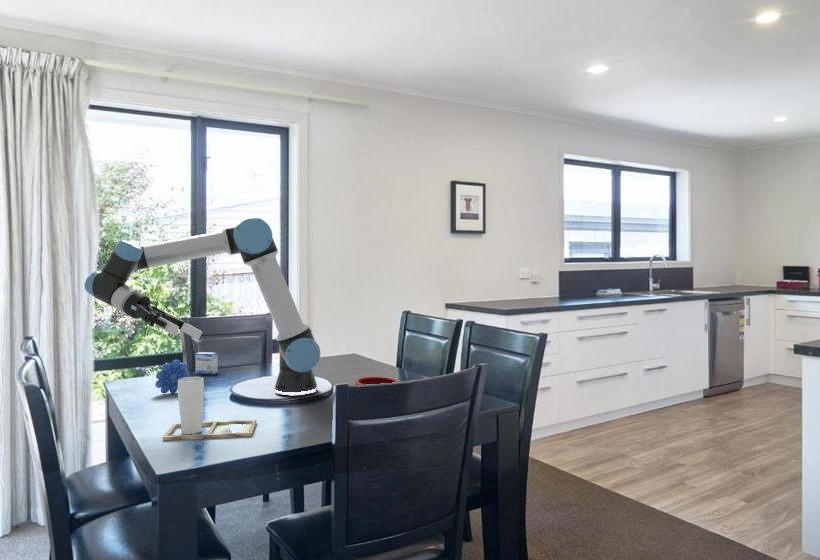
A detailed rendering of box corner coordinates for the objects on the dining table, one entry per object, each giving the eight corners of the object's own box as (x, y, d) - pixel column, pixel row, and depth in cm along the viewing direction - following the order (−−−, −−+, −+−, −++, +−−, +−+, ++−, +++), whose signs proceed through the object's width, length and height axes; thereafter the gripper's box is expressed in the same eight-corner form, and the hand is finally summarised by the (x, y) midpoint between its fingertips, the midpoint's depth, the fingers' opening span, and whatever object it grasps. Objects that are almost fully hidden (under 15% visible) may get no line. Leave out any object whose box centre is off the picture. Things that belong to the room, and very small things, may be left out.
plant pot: (363, 428, 163) (363, 386, 163) (349, 416, 175) (349, 377, 175) (405, 423, 169) (405, 382, 168) (389, 411, 181) (389, 374, 180)
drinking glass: (209, 430, 161) (208, 377, 161) (193, 437, 155) (192, 382, 154) (189, 427, 163) (189, 375, 163) (172, 434, 157) (172, 380, 156)
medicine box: (195, 374, 238) (194, 353, 238) (200, 371, 243) (200, 351, 242) (212, 374, 237) (212, 354, 237) (218, 372, 242) (217, 352, 241)
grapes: (186, 388, 212) (186, 356, 211) (191, 392, 206) (191, 359, 206) (152, 393, 205) (152, 359, 204) (156, 396, 199) (156, 362, 199)
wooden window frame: (256, 422, 168) (256, 419, 168) (251, 436, 156) (251, 432, 156) (174, 426, 164) (174, 423, 164) (162, 440, 152) (162, 437, 152)
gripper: (149, 318, 184) (203, 347, 180) (98, 307, 160) (158, 341, 155) (161, 298, 185) (214, 326, 180) (111, 284, 160) (171, 316, 156)
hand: (188, 333), depth 168 cm, fingers open, 13 cm apart
